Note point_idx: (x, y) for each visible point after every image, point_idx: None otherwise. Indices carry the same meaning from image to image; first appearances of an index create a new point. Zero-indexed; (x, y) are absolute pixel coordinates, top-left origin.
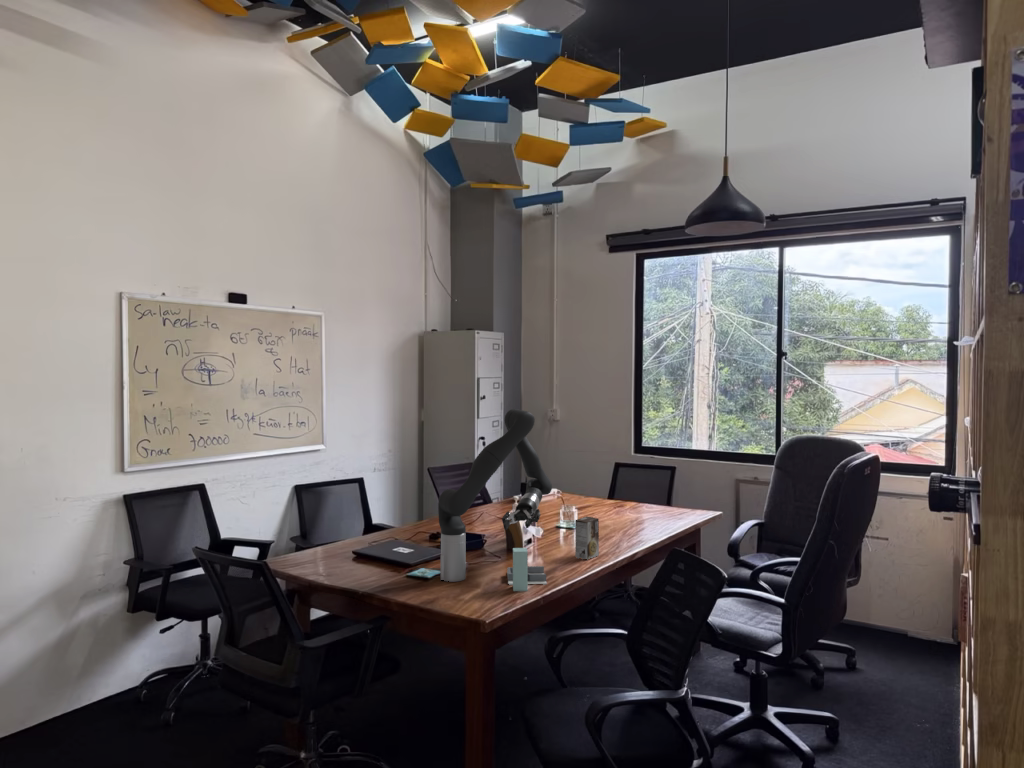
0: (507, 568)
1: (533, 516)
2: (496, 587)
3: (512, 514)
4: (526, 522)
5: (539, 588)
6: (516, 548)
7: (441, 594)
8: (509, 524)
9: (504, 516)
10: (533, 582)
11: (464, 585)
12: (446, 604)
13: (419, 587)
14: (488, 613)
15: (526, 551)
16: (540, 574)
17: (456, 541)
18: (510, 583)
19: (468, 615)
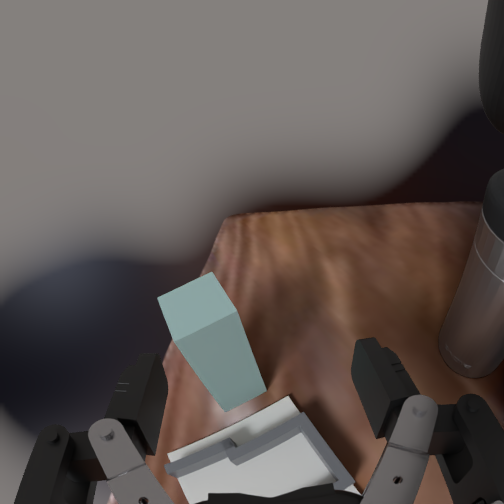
0: (350, 475)
1: (67, 431)
2: (310, 359)
3: (402, 474)
4: (142, 358)
5: (180, 412)
6: (217, 313)
7: (391, 252)
8: (376, 430)
9: (492, 437)
10: (210, 441)
11: (402, 322)
12: (336, 226)
13: (462, 256)
14: (236, 235)
15: (161, 296)
16: (184, 460)
17: (477, 226)
18: (282, 399)
19: (264, 216)
